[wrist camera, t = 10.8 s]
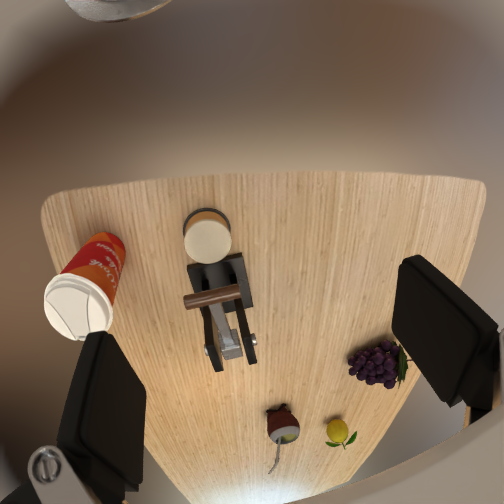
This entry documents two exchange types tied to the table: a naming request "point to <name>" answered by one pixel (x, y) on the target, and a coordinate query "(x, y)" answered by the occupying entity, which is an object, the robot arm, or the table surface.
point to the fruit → (380, 364)
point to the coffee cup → (86, 288)
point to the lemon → (339, 433)
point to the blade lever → (219, 316)
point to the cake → (207, 235)
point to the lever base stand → (224, 303)
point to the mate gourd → (281, 428)
